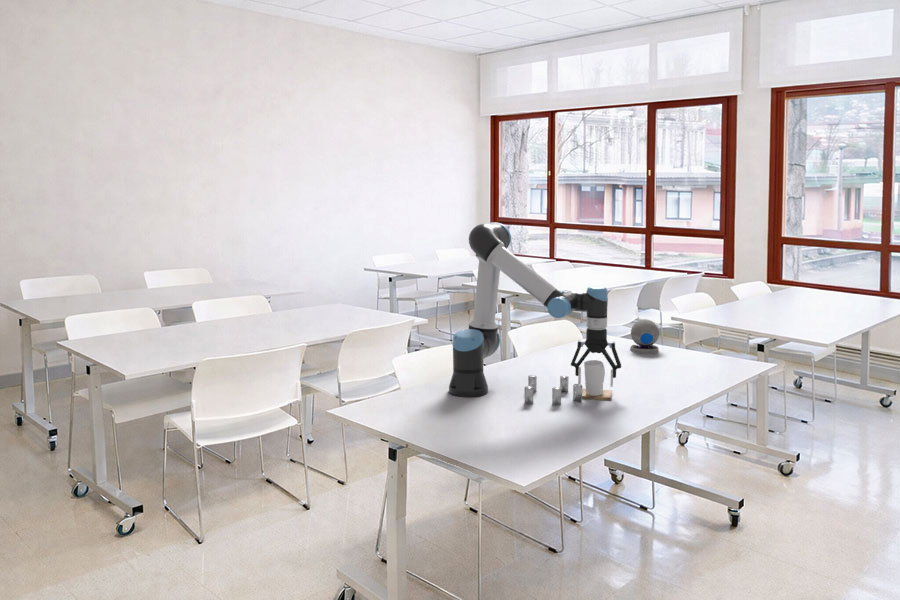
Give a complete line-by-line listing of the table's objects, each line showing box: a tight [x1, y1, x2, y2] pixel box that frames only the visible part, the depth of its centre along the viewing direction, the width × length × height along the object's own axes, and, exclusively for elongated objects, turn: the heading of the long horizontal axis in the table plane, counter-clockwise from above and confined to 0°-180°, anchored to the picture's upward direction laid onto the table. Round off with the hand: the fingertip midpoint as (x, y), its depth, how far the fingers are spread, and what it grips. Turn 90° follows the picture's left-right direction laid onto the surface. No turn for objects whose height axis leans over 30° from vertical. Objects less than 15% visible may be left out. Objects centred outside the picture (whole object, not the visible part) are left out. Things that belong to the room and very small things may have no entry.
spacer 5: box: [572, 383, 583, 403], centre depth 275 cm, size 3×3×6 cm
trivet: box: [582, 388, 613, 401], centre depth 282 cm, size 12×10×1 cm
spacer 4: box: [559, 374, 569, 394], centre depth 287 cm, size 3×3×6 cm
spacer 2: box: [523, 385, 534, 406], centre depth 273 cm, size 3×3×6 cm
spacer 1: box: [527, 374, 538, 393], centre depth 288 cm, size 3×3×6 cm
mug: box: [583, 359, 606, 396], centre depth 280 cm, size 10×7×12 cm, turn 133°
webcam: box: [629, 318, 660, 354], centre depth 354 cm, size 13×13×15 cm
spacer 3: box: [551, 386, 562, 406], centre depth 271 cm, size 3×3×6 cm
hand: (595, 385), depth 281 cm, fingers open, 11 cm apart
